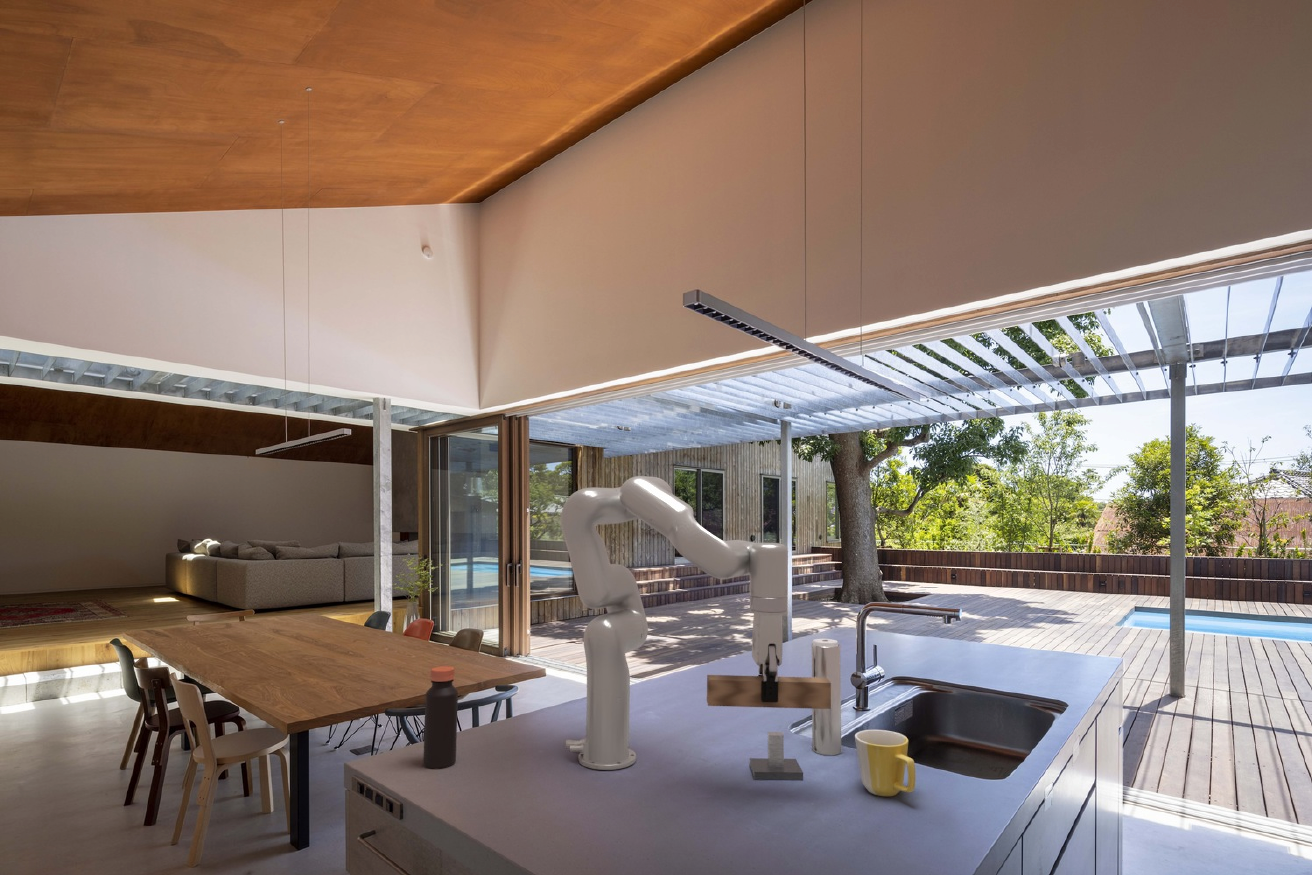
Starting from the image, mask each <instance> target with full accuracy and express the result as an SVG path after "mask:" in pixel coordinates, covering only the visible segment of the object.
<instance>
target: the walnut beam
mask: <svg viewBox="0 0 1312 875" xmlns="http://www.w3.org/2000/svg"><path fill="white" fill-rule="evenodd" d="M761 681H763V676H758V675H734V674H733V675H730V674H729V675H727V674H726V675H725V674H707V675H706V703H707V706H708V707H732V708H733V707H737V708H738V707H739V708H742V707H743V708H770V709H771V708H773V709H774V708H780V709H783V708H784V709H787V708H788V709H811V710H812V709H831V682H830V681H829V680H828V679H827V678H812V676H811V677H807V676H805V677H804V676H803V677H801V676H800V677H799V676H778V702H776V703H775V702H762V700H761Z"/></svg>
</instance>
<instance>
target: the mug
mask: <svg viewBox="0 0 1312 875" xmlns="http://www.w3.org/2000/svg"><path fill="white" fill-rule="evenodd" d="M854 739H855V747H856V751H857V752H856V753H857V758H858V764H859V770H860V771H859V772H860V778H861V783H862V784H863V786H864V788H865V789H867V791H868V792H869V793H870V794H872V795H875V796H879V797H893V796H896V795H898V793H899V792H900V791H901V792H905V793H911V792H914V790H915V787H916V765H915V761H914V759H913V758H911V757H909V756H908V747H909V739H908V738H907V736H906V735H904V734H902V733H899V732H897V731H896V732H895V731H890V730H885V729H864V730H861V731H858V732H856V733H855V735H854ZM906 767H907V786H906V785H904V780H905V771H906Z"/></svg>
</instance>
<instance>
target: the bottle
mask: <svg viewBox="0 0 1312 875" xmlns="http://www.w3.org/2000/svg"><path fill="white" fill-rule="evenodd" d="M454 680H455V668H454V667H453V666H443V665H442V666H436V667H432V668H431V669H430V682H431V687H430V688H429V689H428V690H427V691H426V692H425V702H424V704H425V705H424V706H425V707H424V729H423V730H424V733H423V734H424V735H423V760H422V761H423V766H424V767H425V768H427V769H433V770H435V769H436V770H437V769H438V770H439V769H445V768H449V767H451V766H452V765H454V764H455V763H456V761H457V737H458V736H457V734H458V705H459V704H458V702H459V692H458V689H457V688H456V687H455V686H454V685H453V682H454Z"/></svg>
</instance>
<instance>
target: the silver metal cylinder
mask: <svg viewBox="0 0 1312 875" xmlns="http://www.w3.org/2000/svg"><path fill="white" fill-rule="evenodd" d="M838 642H839V641H838V640H836V639H831V638H815V639H813V640H812V643H811V677H812V678H827V679H828V680H829V681H830V682H831V709H811V711H812V712H811V713H812V714H811V716H812V717H811V719H812V720H811V726H812V729H811V730H812V731H811V732H812V734H811V735H812V736H811V737H812V738H811V739H812V741H811V742H812V745H811V746H812V751H813V752H814V753H816V754H818V755H823V756H837V755H840V754H841V753H842V693H841V692H842V688H841V687H842V686H841V682H842V680H841V679H842V678H841V677H842V675H841V668H842V667H841V645H840V644H839V643H838Z"/></svg>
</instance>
